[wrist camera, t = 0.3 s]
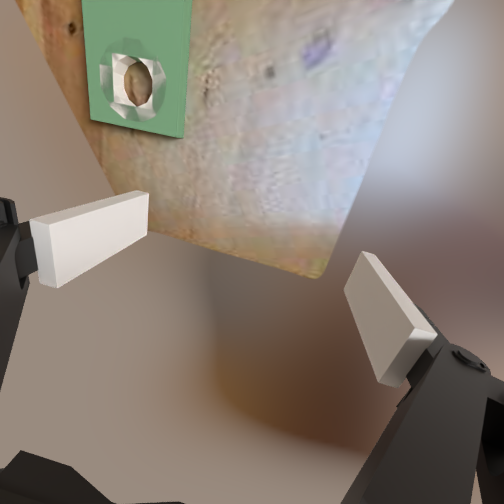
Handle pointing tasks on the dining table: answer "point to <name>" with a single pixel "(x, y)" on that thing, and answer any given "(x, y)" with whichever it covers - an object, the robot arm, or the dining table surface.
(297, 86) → the dining table surface
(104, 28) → the green
